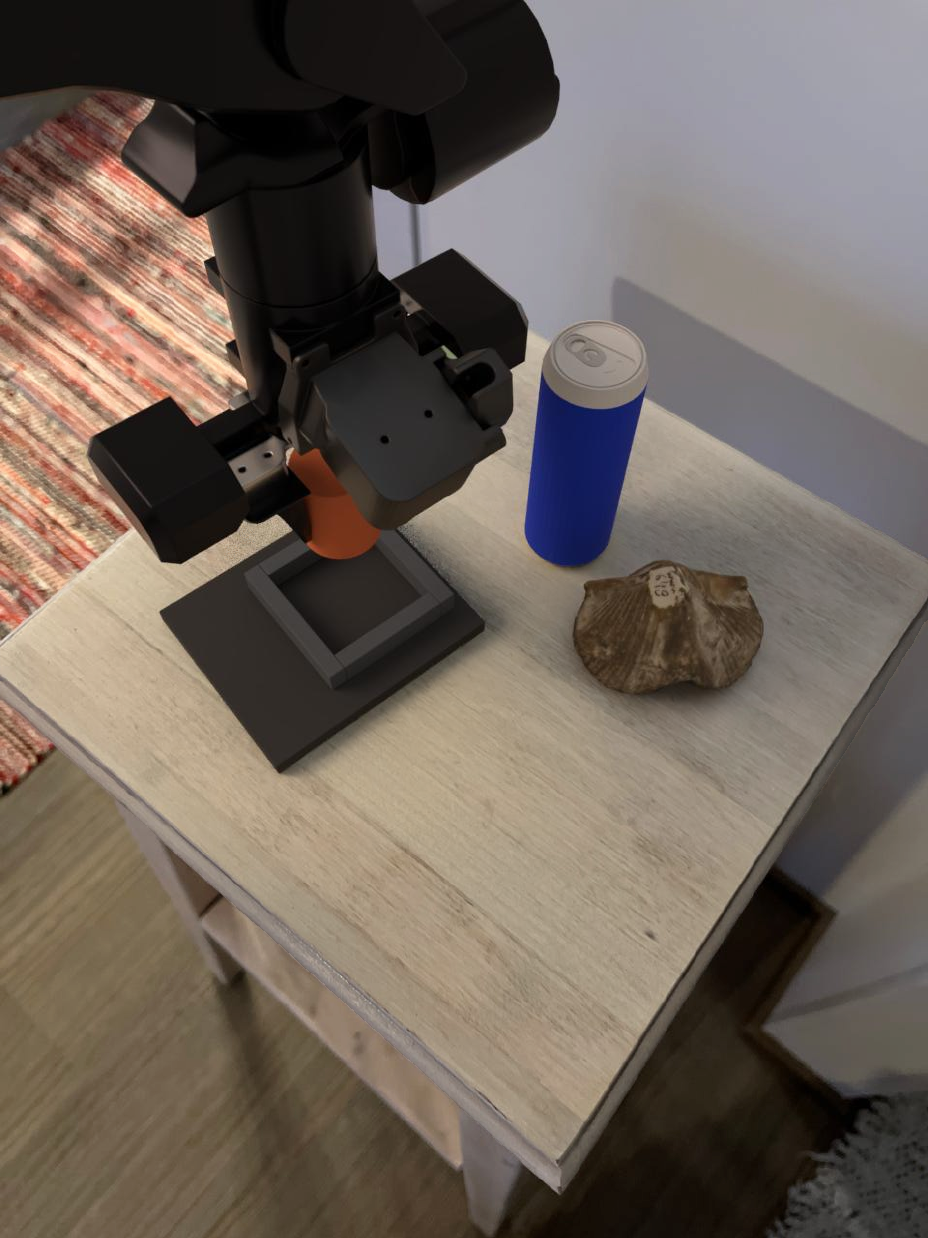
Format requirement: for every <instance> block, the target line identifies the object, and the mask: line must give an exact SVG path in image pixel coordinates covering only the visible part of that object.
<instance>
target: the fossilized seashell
mask: <svg viewBox="0 0 928 1238" xmlns="http://www.w3.org/2000/svg"><path fill="white" fill-rule="evenodd" d="M748 589H749V583H748V579H747V577H746V576H744V575H729V574H721V573H716V572H712V571H707V570H702V569H701V570H700V569H693V568H690V567H688V566H685V565H684V564H682V563H678V562H673V561H671V560H668V559H659V560H654V561H651V562H649V563H647V564H645V565H643V566H641V567H640V568H638V569H636V570H635V571H634V572H631V573H630V574H628V575H627V576H617V577H606V578H598V579H592V580H591V579H590V580H588V581H587V580H586V582H585V583H583V590H584V596H583V600H582V602H581V605H580V606H579V609H578V612H577V614H576V615H575V617H574V621H573V629H572V635H571V636H572V642H573V647H574V650H575V652H576V654H577V656H578V658H579V659H580V660H581V662H582V664H583V667H584V668H585V670H587V671H588V672H589V674H590V676H591V677H592V678H594V679H595V680H596V681H598V682H599V683H600V684H602V685H603V686H604V687H606V688H608V689H611V690H612V691H614V692H618V693H620V694H629V695H632V696H633V695H634V696H636V695H641V694H645V693H652V692H658V691H660V690H662V689H665V688H667V687H669V686H672V685H675V684H679V683H685V684H688V685H692V686H695V687H697V688H700V689H702V690H703V691H713V690H718V689H724V688H725V689H726V688H729V687H731V686H732V685H733V684H734V683H736V682H737V681H738V680H739V678H741V677H743V676H745V674H746V673H747V672H748V670H749V669H750V668H751V667H752V665H753V660H754V658H755V657H756V655H757V653H758V651H759V649H760V648H761V644H762V640H763V637H764V631H765V627H764V626H765V625H764V621H763V618H762V616H761V614H760V612H759V609H758V607H757V606H756V603H755V600H754V598H753V597H752V595H751V593H750V591H749V590H748Z"/></svg>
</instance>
